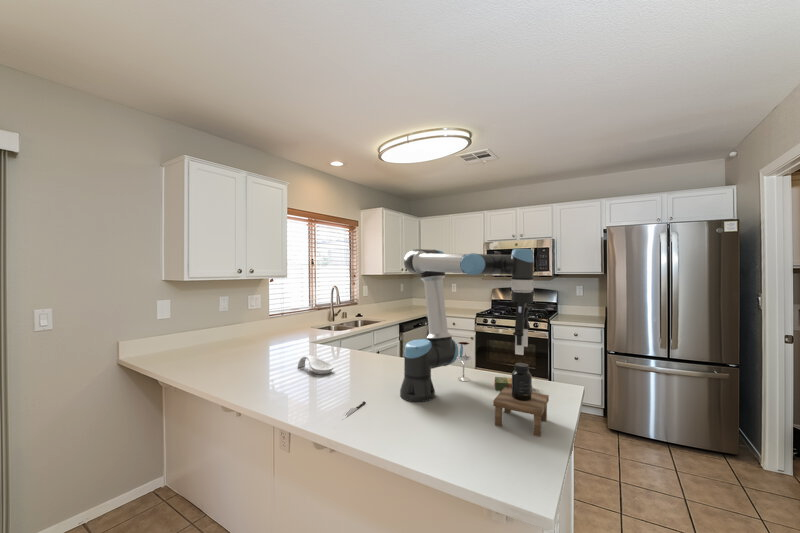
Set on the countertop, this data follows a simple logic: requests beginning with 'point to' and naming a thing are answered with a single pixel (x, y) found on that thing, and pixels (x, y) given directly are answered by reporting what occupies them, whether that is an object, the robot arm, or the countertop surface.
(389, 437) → the countertop surface
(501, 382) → the carton
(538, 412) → the footstool
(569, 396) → the countertop surface
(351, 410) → the chef's knife
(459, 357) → the wineglass
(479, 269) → the robot arm
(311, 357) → the spoon rest
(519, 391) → the supplement bottle
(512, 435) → the countertop surface
